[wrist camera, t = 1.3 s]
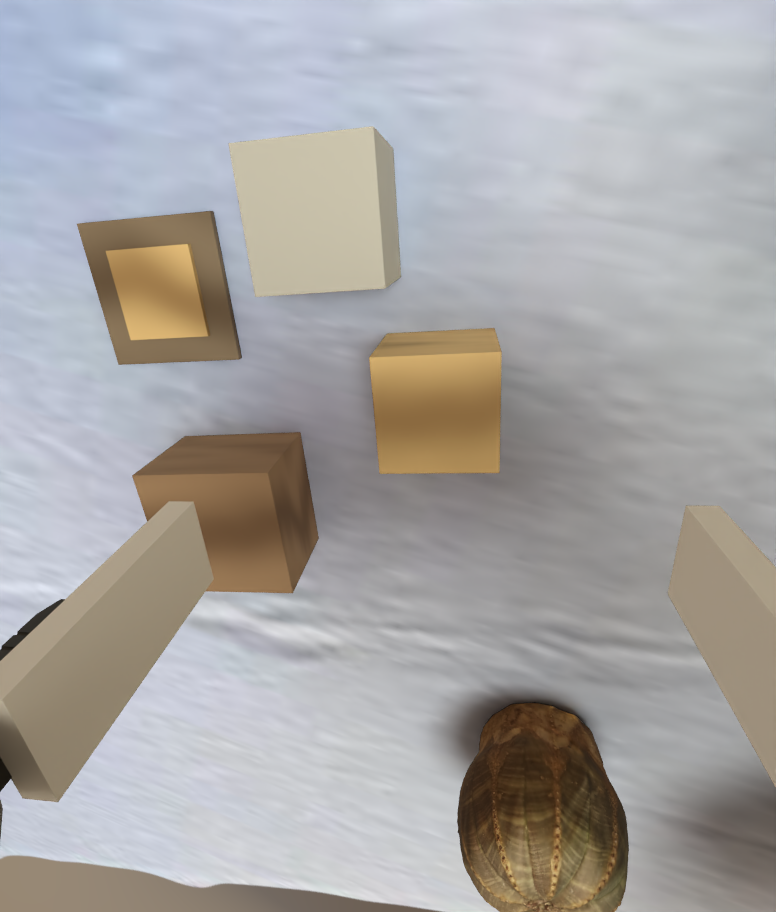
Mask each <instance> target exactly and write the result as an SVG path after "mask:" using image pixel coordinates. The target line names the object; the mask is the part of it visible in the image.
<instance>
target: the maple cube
mask: <svg viewBox="0 0 776 912" xmlns="http://www.w3.org/2000/svg"><path fill="white" fill-rule="evenodd" d="M369 361H370V372H371V383H372V394H373V405H374V416H375V428H376V439H377V450H378V461H379V472H380V474H406V473H499V466H500V409H501V349H500V345H499V342H498V339H497V335H496V332H495V329H494V328H487V329H467V330H447V331H427V332H408V333H388V334H386V336H385V337H384V338H383V340H382V341H381V342H380V344H379V345H378V346H377V348H376V349H375V350H374V352H373V353H372V354H371V356H370V357H369Z"/></svg>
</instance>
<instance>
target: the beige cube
mask: <svg viewBox="0 0 776 912" xmlns="http://www.w3.org/2000/svg"><path fill="white" fill-rule="evenodd" d="M228 144H229V149H230V155H231V161H232V166H233V172H234V178H235V183H236V189H237V195H238V201H239V206H240V212H241V218H242V223H243V229H244V235H245V241H246V246H247V252H248V258H249V263H250V269H251V275H252V281H253V286H254V292H255V297H262V296H277V295H293V294H308V293H323V292H339V291H354V290H369V289H384V288H387V287H388V286H389V285H391V284H392V283H393V282H395V281H396V280H397V279H399V278H400V277H401V267H400V251H399V234H398V218H397V202H396V185H395V169H394V152H393V148H392V147H391V146H390V144H389V143H388V142H387V141H386V140H385V139H384V138H383V137H382V135H381V134H380V133H379V132H378V131H377V130H376V129H375V128H374V127H373V126H372V127H364V128H355V129H347V130H338V131H330V132H322V133H313V134H305V135H296V136H288V137H279V138H271V139H262V140H254V141H245V142H237V143H228Z"/></svg>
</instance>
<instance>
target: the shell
mask: <svg viewBox="0 0 776 912" xmlns="http://www.w3.org/2000/svg"><path fill="white" fill-rule="evenodd" d="M457 823H458V833H459V837H460V846H461V852H462V857H463V862H464V865H465V868H466V871H467V873H468V874H469V876H470V878H471V880H472V881H473V884H474V885H475V887H476V888H477V890H478V892H479V893H480V895H481V896H482V897H483V898H484V900H485V901H486V902H488V903H489V904H490V905H491V906H493V907H494V908H496V909H497V910H498V911H500V912H615V911H616V909H617V907H618V906H620V905H621V901H622V898H623V895H624V892H625V887H626V880H627V866H628V852H629V845H628V833H627V822H626V816H625V812H624V809H623V806H622V804H621V802H620V800H619V798H618V796H617V794H616V792H615V790H614V788H613V786H612V784H611V783H610V781H609V779H608V777H607V774H606V771H605V769H604V767H603V761H602V758H601V756H600V753H599V750H598V747H597V744H596V742H595V740H594V737H593V734H592V732H591V730H590V729H589V728H588V727H587V726H586V725H585V724H584V723H582V722H581V720H580V719H579V718H578V717H576V716H575V715H573V714H570V713H566V712H564V711H562V710H559V709H557V708H555V707H553V706H550V705H545V704H539V703H521V704H511V705H509V706H508V707H506V708H504V709H503V710H501V711H499V712H497V713H496V714H494V715H493V716H492V717H491V718H490V719H489V721H488V722H487V723H486V725H485V726H484V727H483V730H482V733H481V737H480V744H479V753H478V754H477V756H476V757H475V759H474V761H473V762H472V764H471V765H470V767H469V768H468V770H467V773H466V775H465V777H464V780H463V783H462V786H461V790H460V797H459V806H458V819H457Z"/></svg>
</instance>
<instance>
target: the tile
mask: <svg viewBox="0 0 776 912" xmlns="http://www.w3.org/2000/svg"><path fill="white" fill-rule="evenodd" d="M77 226H78V229H79V233H80V236H81V239H82V243H83V246H84V250H85V253H86V256H87V260H88V263H89V266H90V270H91V273H92V276H93V280H94V283H95V287H96V290H97V293H98V297H99V300H100V303H101V307H102V310H103V313H104V317H105V320H106V324H107V327H108V330H109V334H110V337H111V340H112V344H113V347H114V350H115V354H116V357H117V361H118V364H119V365H122V364H145V363H167V362H190V361H212V360H235V359H241V358H242V356H241V351H240V346H239V341H238V336H237V331H236V325H235V320H234V315H233V310H232V305H231V300H230V295H229V290H228V284H227V279H226V274H225V269H224V264H223V259H222V254H221V249H220V243H219V238H218V233H217V228H216V223H215V218H214V213H213V211H206V212H196V213H185V214H175V215H164V216H154V217H143V218H133V219H122V220H112V221H101V222H91V223H80V224H77Z"/></svg>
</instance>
